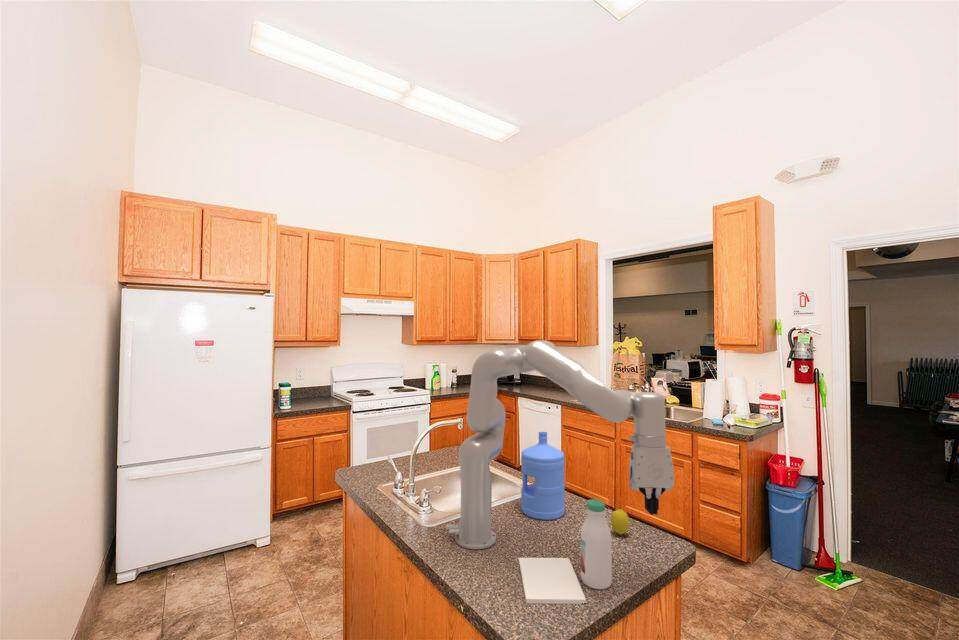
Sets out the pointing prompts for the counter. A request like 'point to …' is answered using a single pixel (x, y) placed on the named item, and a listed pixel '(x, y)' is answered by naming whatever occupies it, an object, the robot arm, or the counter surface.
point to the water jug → (543, 481)
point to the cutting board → (550, 581)
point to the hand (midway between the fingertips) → (651, 512)
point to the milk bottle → (596, 547)
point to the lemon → (620, 521)
